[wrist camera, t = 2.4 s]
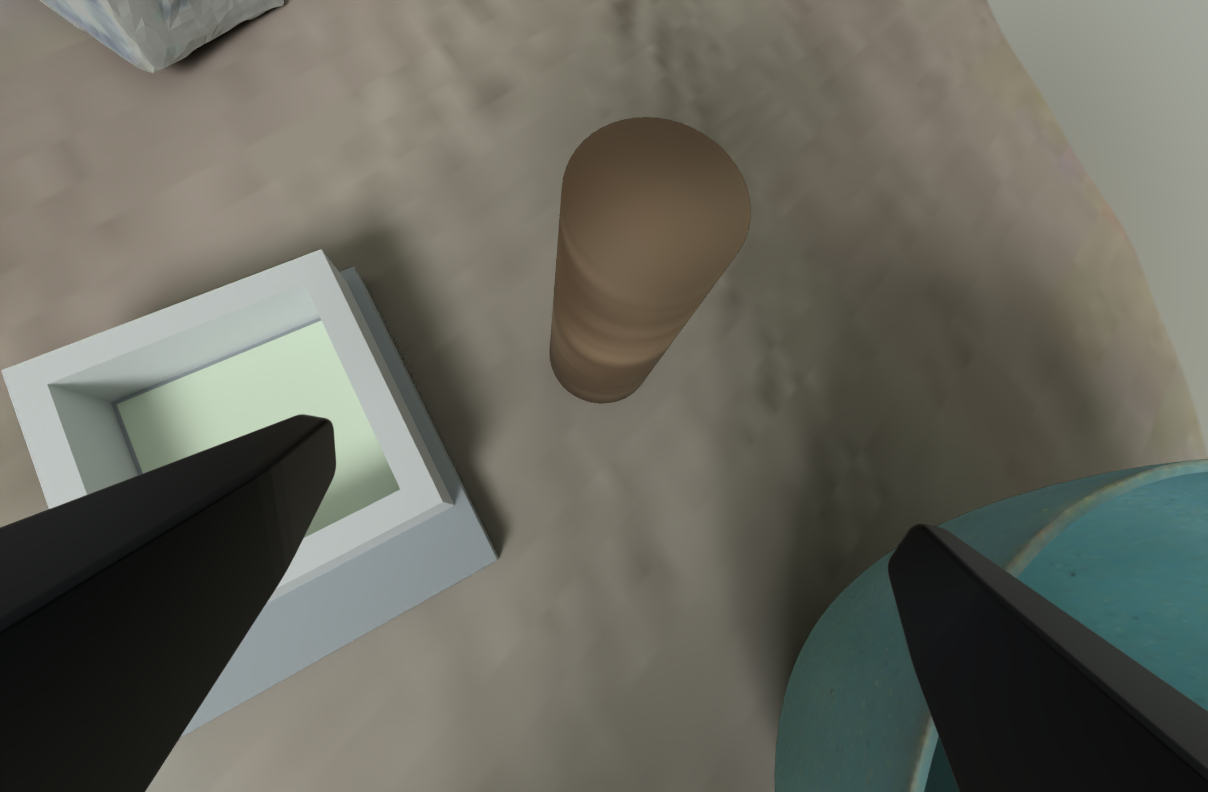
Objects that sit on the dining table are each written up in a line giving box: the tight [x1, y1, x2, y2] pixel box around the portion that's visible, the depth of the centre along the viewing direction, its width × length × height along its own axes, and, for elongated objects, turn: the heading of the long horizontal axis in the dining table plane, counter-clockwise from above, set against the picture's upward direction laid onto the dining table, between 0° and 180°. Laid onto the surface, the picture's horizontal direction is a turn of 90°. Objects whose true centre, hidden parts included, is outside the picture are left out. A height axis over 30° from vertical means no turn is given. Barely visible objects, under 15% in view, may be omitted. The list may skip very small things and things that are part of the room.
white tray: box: [1, 249, 499, 737], centre depth 18 cm, size 13×12×4 cm
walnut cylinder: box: [550, 117, 751, 403], centre depth 17 cm, size 4×4×11 cm
